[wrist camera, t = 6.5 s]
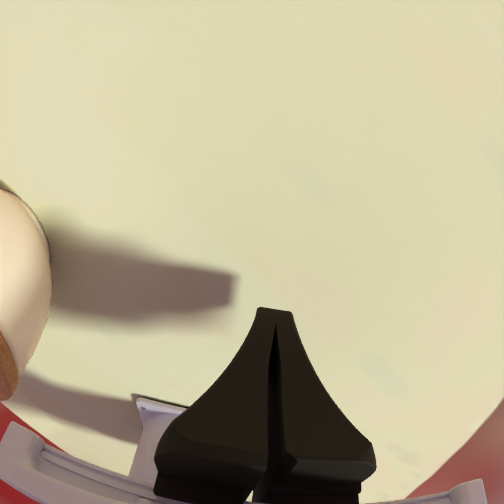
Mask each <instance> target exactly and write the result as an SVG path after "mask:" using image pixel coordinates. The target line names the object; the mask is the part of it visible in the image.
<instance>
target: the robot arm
mask: <svg viewBox="0 0 504 504" xmlns="http://www.w3.org/2000/svg"><path fill="white" fill-rule="evenodd" d="M136 405H137V409H138V412H139V416H140V419H141V422H142V426H143V431H142V434H141V437H140V441H139V444H138V447H137V450H136V453H135V456H134V459H133V463H132V466H131V469H130V472H129V476H125V475H122V474H119V473H116V472H113V471H110V470H107V469H105V468H102V467H99V466H96V465H94V464H91V463H89V462H86V461H83V460H81V459H79V458H76V457H74V456H71V455H69V454H67V453H64V452H62V451H60V450H57V449H55V448H53V447H51V446H49V445H47V444H45V443H44V441H43V440H42V439H41V438H40V437H39V436H38V435H37V434H35V433H34V432H32V431H30V430H28V429H26V428H24V427H22V426H21V425H19V424H17V423H15V422H10V424H9V426H8V428H7V430H6V432H5V434H4V436H3V438H2V440H1V442H0V479H2V480H3V481H4V482H6V483H7V484H9V485H10V486H12V487H13V488H15V489H16V490H18V491H20V492H21V493H23V494H25V495H26V496H28V497H30V498H32V499H33V500H35V501H37V502H39V503H41V504H359V498H358V493H360V492H361V482H363V481H364V480H366V479H367V478H368V477H370V476H371V475H372V474H373V473H374V472H375V471H376V458H375V454H374V450H373V446H372V443H371V442H370V441H369V440H368V439H367V438H366V437H364V436H363V435H362V434H361V433H360V432H359V431H358V430H357V429H356V428H355V427H354V426H353V424H352V423H351V422H350V421H349V420H348V419H347V418H346V416H345V415H344V414H343V413H342V411H341V410H340V409H339V408H338V406H337V405H336V404H335V402H334V401H333V400H332V398H331V397H330V395H329V394H328V392H327V391H326V389H325V388H324V386H323V384H322V383H321V381H320V379H319V378H318V376H317V374H316V372H315V370H314V368H313V366H312V364H311V362H310V360H309V358H308V356H307V354H306V351H305V349H304V347H303V344H302V342H301V339H300V337H299V334H298V331H297V328H296V325H295V322H294V318H293V314H292V313H291V312H289V311H283V310H276V309H270V308H264V307H259V308H257V311H256V316H255V319H254V322H253V325H252V327H251V329H250V331H249V333H248V335H247V337H246V339H245V341H244V343H243V344H242V346H241V348H240V349H239V351H238V352H237V354H236V355H235V357H234V358H233V360H232V361H231V363H230V364H229V365H228V367H227V368H226V369H225V371H224V372H223V373H222V374H221V376H220V377H219V378H218V379H217V380H216V381H215V382H214V384H213V385H212V386H211V387H210V388H209V389H208V390H207V391H206V392H205V393H204V394H203V395H202V396H201V397H200V398H199V399H198V400H197V401H196V402H194V403H193V404H192V405H191V406H190V407H189V408H188V409H186V408H182V407H177V406H173V405H169V404H165V403H160V402H156V401H153V400H149V399H145V398H137V400H136ZM252 490H253V496H252V502H248V501H246V499H247V498H248V496H249V494H250V493H251V491H252ZM367 504H487V501H486V496H485V491H484V486H483V481H482V479H476V480H473V481H469V482H465V483H462V484H460V485H457V486H455V487H454V488H452V489H451V490H450V491H447V492H442V493H437V494H432V495H427V496H422V497H416V498H409V499H403V500H395V501H387V502H378V503H367Z"/></svg>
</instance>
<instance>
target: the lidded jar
mask: <svg viewBox="0 0 504 504" xmlns="http://www.w3.org/2000/svg"><path fill="white" fill-rule="evenodd" d="M51 296H52V277H51V270H50V250H49V245H48V241H47V238H46V235H45V232H44V230H43V228H42V226H41V224H40V222H39V220H38V219H37V217H36V215H35V214H34V213H33V211H32V210H31V209H30V208H29V206H28V205H27V204H26V203H25V202H24V201H23V200H22V199H20V198H19V197H18V196H16V195H15V194H13V193H11V192H8V191H4V190H2V189H0V401H4V400H8V399H9V398H10V397H11V395H12V394H13V392H14V390H15V388H16V387H17V384H18V380H19V377H20V375H21V374H22V372H23V370H24V369H25V367H26V366H27V364H28V362H29V360H30V359H31V357H32V355H33V353H34V351H35V349H36V347H37V345H38V343H39V340H40V338H41V335H42V333H43V330H44V327H45V324H46V322H47V319H48V315H49V310H50V304H51Z"/></svg>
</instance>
